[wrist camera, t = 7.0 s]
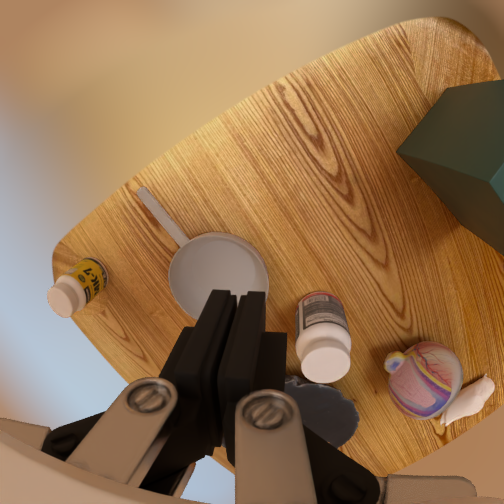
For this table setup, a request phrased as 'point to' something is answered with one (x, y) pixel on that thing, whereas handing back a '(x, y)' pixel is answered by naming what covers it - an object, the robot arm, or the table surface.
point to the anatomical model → (423, 379)
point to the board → (323, 410)
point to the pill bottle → (322, 337)
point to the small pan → (208, 263)
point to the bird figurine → (469, 400)
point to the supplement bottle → (77, 287)
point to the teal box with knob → (465, 156)
